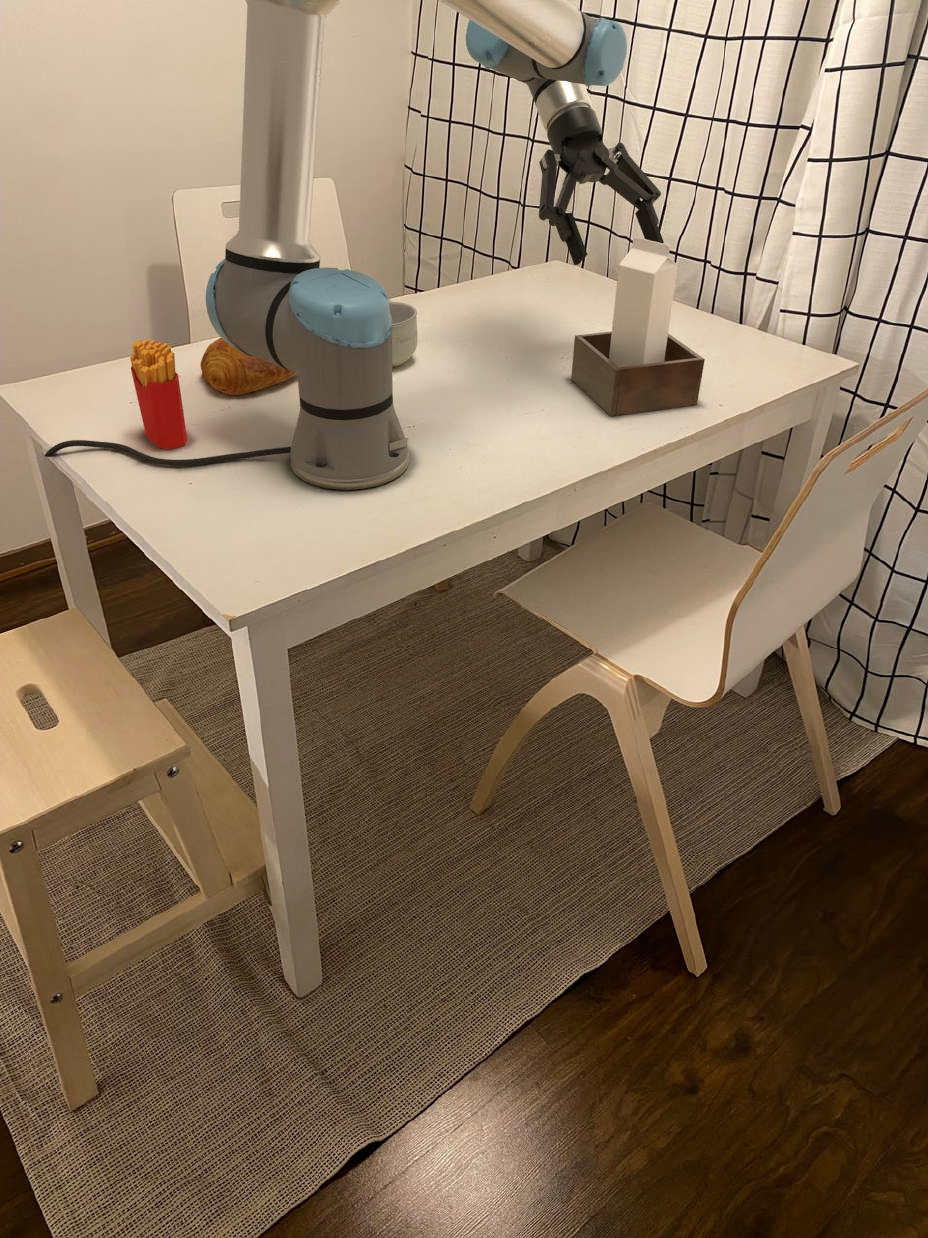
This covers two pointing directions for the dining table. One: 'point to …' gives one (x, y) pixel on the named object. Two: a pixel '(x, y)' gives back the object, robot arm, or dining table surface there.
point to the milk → (643, 304)
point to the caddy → (636, 377)
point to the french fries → (158, 393)
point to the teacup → (403, 331)
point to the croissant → (238, 370)
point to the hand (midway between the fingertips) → (619, 253)
